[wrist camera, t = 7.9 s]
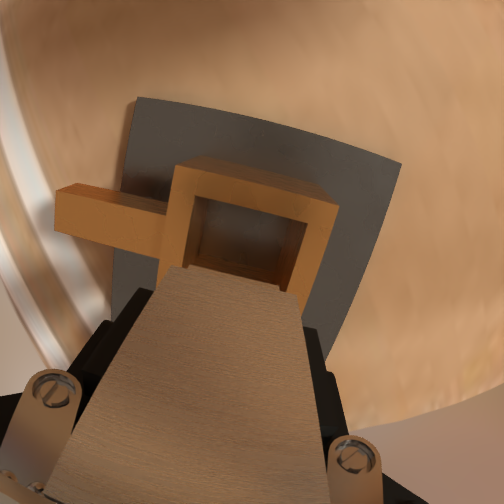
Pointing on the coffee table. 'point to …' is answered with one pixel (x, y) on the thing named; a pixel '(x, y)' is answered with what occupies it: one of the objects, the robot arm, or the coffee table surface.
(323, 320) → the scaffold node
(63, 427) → the robot arm
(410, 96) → the coffee table surface
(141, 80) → the coffee table surface
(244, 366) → the grey block
